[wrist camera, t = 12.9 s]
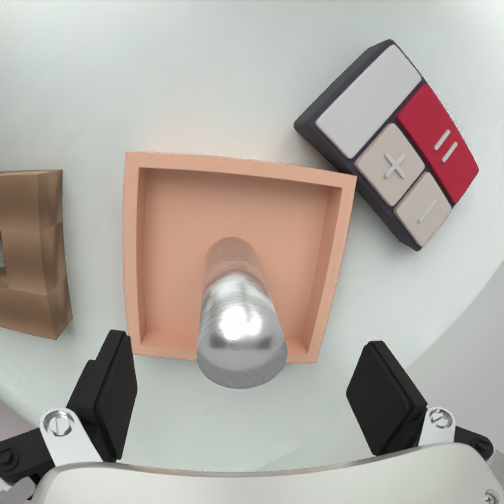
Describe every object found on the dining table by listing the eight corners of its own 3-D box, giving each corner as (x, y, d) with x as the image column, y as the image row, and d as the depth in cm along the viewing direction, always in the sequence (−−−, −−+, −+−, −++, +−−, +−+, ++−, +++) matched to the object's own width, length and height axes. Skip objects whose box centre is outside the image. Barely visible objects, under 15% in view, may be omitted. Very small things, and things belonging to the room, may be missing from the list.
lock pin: (208, 234, 23) (198, 315, 12) (259, 239, 24) (295, 320, 12) (204, 282, 24) (195, 386, 13) (253, 286, 25) (279, 388, 14)
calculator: (422, 256, 23) (307, 122, 18) (397, 241, 27) (290, 125, 22) (485, 171, 21) (395, 34, 16) (456, 164, 25) (369, 46, 20)
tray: (139, 151, 22) (126, 152, 18) (339, 172, 24) (357, 176, 20) (138, 331, 26) (130, 353, 23) (306, 341, 29) (315, 362, 25)
